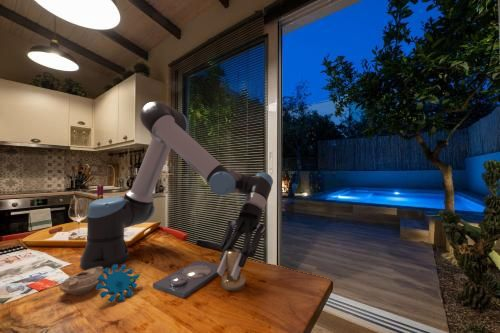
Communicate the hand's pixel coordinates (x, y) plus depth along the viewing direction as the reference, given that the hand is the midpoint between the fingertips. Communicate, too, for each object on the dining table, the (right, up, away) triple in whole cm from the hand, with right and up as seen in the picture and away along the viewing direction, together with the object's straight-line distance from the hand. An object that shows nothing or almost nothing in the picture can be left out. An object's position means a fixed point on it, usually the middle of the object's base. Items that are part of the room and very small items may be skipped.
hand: (226, 275), depth 62 cm
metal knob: (+2, -4, +3) cm, 6 cm away
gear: (-29, -4, -2) cm, 29 cm away
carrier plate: (-12, -5, +8) cm, 15 cm away
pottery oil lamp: (-40, -4, +1) cm, 40 cm away
